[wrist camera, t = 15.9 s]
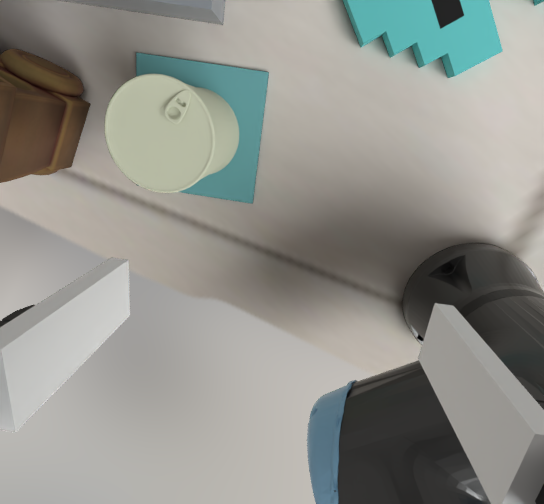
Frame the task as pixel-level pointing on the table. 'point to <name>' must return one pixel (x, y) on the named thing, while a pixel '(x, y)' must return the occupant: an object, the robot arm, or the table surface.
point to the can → (169, 132)
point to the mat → (246, 106)
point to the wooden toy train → (37, 115)
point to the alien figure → (430, 29)
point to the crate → (168, 8)
